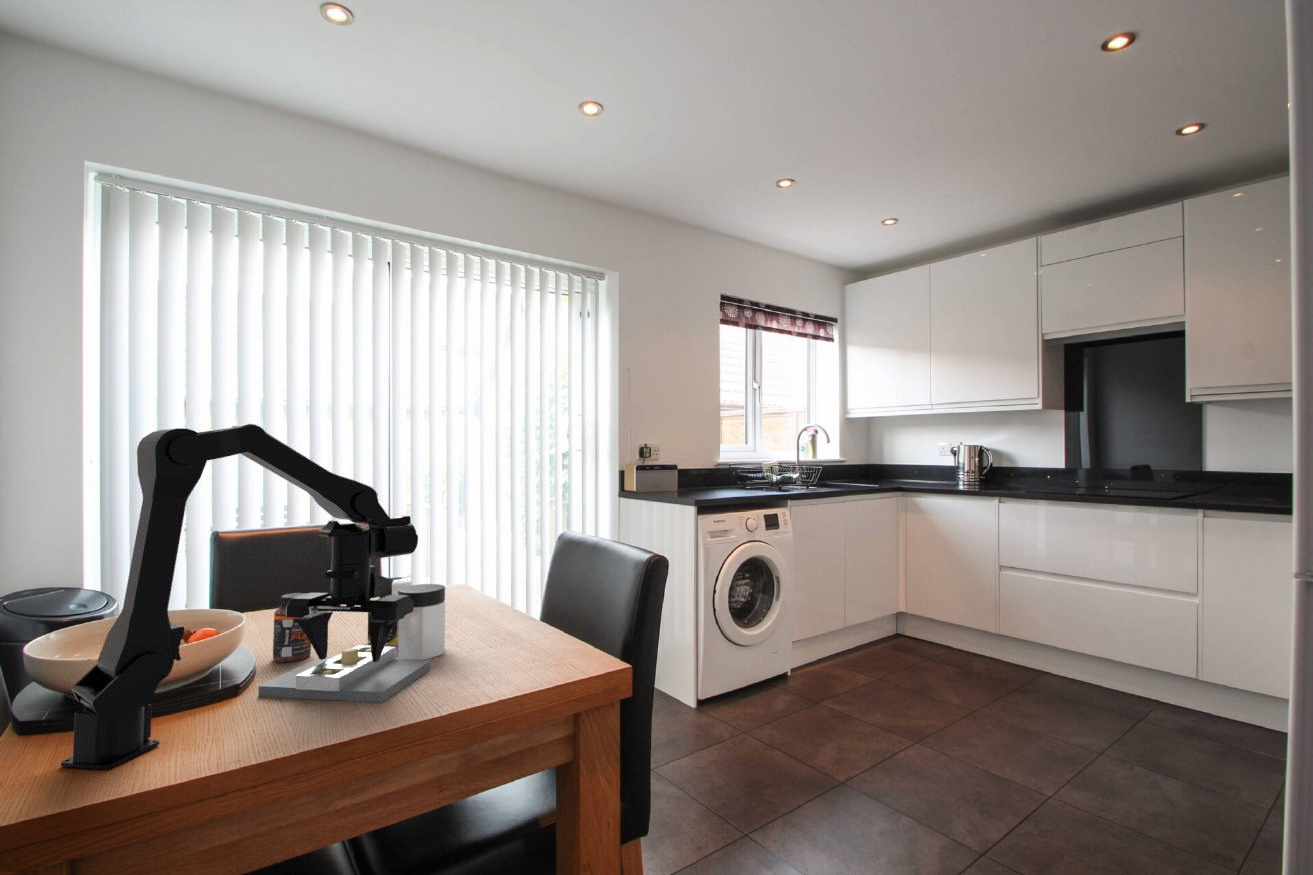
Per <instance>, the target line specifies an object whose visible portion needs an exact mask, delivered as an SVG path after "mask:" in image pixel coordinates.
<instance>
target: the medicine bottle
mask: <svg viewBox="0 0 1313 875" xmlns="http://www.w3.org/2000/svg"><path fill="white" fill-rule="evenodd" d="M388 578H389V577H388ZM389 579H392V583H391V588H390V593H389V595H398V590H399V589H401V588H403V587H407V586H412V585H413V584H412V583H413V582H412V579H410V578H407V577H403V576H402V577H401V576H398V577H390V578H389ZM380 598H382V597H378V599H380ZM373 620H375V619H374V618H373V617H372V616H371V615H370V612H367V643H368V644H369V643H370V644H371V642H370V630H369V622H371V621H373ZM388 645H389V646H398V621H397V622H396V623H395V624H394V626H393V627H392V629H391V631H390V633H389V635H388V638H387V641H386V643H385V646H388Z"/></svg>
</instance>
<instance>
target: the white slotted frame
mask: <svg viewBox="0 0 1313 875" xmlns="http://www.w3.org/2000/svg"><path fill="white" fill-rule="evenodd" d="M353 648H356V649H358V663H356V664H354V665H347V664H341V653H340V654H338V655H336V656H332V657H333V658H331V659H329V660H327V661H325V662H323V663H321V664H319V665H317V666H315V667H313V668H311V669H308V670H306V671H304V672H302V673H300V674H298V675H296V689H301V690H321V691H340V690H342V689H344V688H346V687H347V686H349V685H351V684H353V683H354V682H356V681H358V680H360V679H361V678H363V677H365V676H367V675H368V674H370V673H372V672H373V671H375V670H377V669H379V668H380V667H382V666H384V665H386V664H387V663H389V662H391V661H393V660H394V659H396V660H397V646H391V645H389V646H388V645H385V646H384V648H383V651H382V654H381V656H380V659H379V661H377V662H373V659H372V654H371V653H369V652H366V650H367V649H371V645H363V644H362V645H356V646H354V647H353ZM326 670H332V675H323V672H324V671H326Z"/></svg>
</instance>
